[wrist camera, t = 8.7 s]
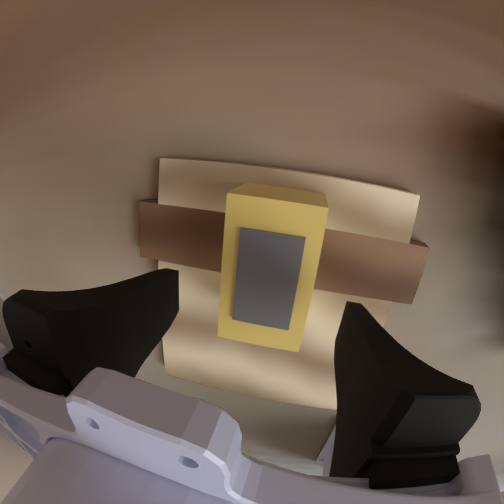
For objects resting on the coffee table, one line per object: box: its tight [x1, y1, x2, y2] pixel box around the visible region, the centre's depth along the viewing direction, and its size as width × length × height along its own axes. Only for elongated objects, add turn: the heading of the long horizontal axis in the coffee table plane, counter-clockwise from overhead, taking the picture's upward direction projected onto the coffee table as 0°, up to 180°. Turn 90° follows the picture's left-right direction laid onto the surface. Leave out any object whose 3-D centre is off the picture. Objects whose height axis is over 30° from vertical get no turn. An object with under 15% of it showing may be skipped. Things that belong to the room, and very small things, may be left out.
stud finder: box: [218, 182, 329, 352], centre depth 16 cm, size 8×5×4 cm, turn 174°
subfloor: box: [139, 157, 430, 410], centre depth 20 cm, size 18×19×1 cm
